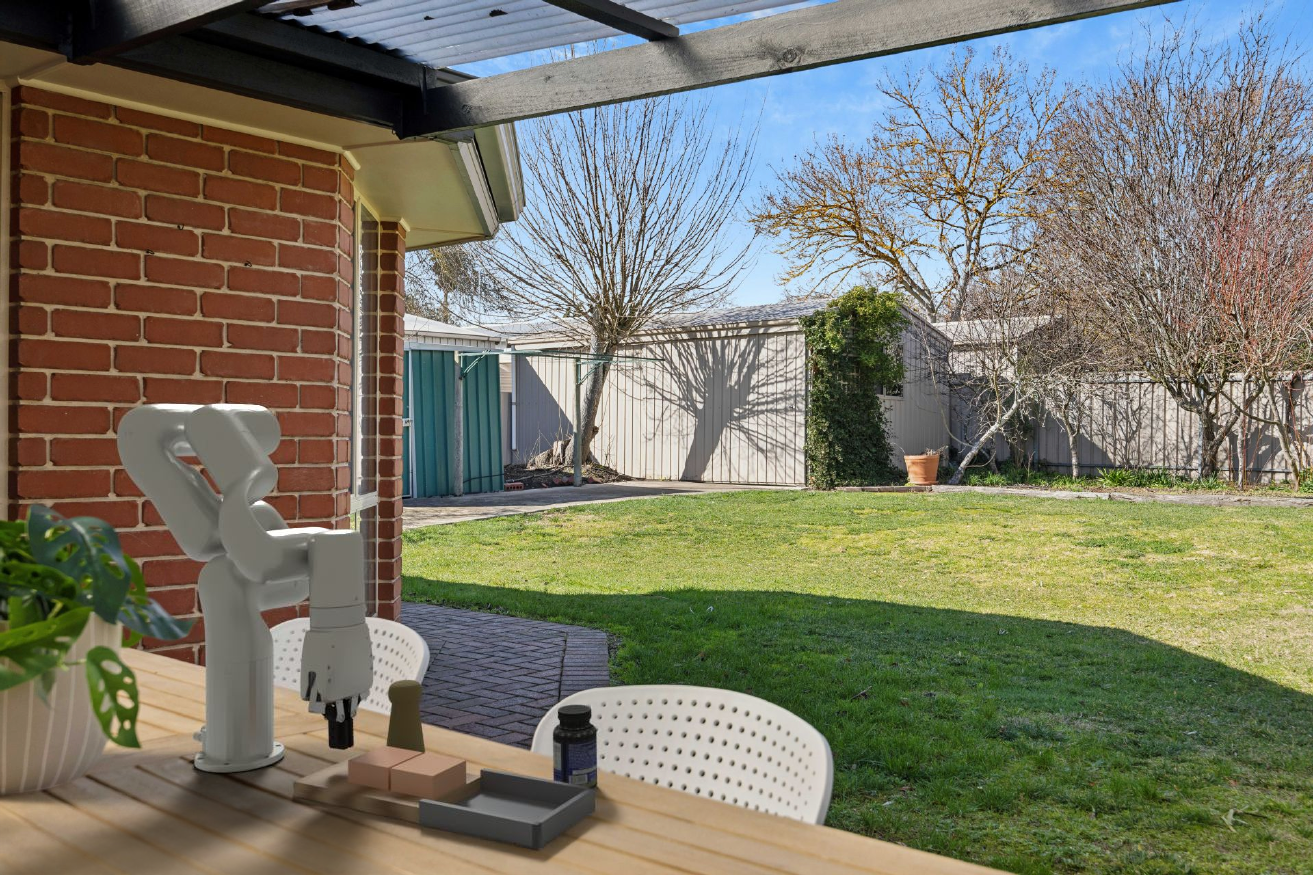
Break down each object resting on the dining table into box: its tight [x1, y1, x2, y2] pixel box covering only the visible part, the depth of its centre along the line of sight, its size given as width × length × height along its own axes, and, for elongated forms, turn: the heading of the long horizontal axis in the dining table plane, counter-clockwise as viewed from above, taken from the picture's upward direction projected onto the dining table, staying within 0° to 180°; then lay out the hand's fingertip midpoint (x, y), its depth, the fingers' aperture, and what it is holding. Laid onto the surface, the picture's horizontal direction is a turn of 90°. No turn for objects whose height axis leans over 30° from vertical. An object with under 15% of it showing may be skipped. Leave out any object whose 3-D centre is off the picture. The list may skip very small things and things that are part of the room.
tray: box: [418, 767, 596, 851], centre depth 125 cm, size 18×14×3 cm
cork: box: [385, 679, 426, 754], centre depth 152 cm, size 6×6×11 cm
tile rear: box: [348, 745, 424, 790], centre depth 134 cm, size 7×7×3 cm
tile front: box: [391, 752, 467, 799], centre depth 131 cm, size 7×7×3 cm
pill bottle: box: [552, 704, 598, 789], centre depth 136 cm, size 6×6×11 cm
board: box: [292, 753, 480, 824], centre depth 134 cm, size 22×13×2 cm, turn 64°
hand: (341, 746), depth 138 cm, fingers closed
